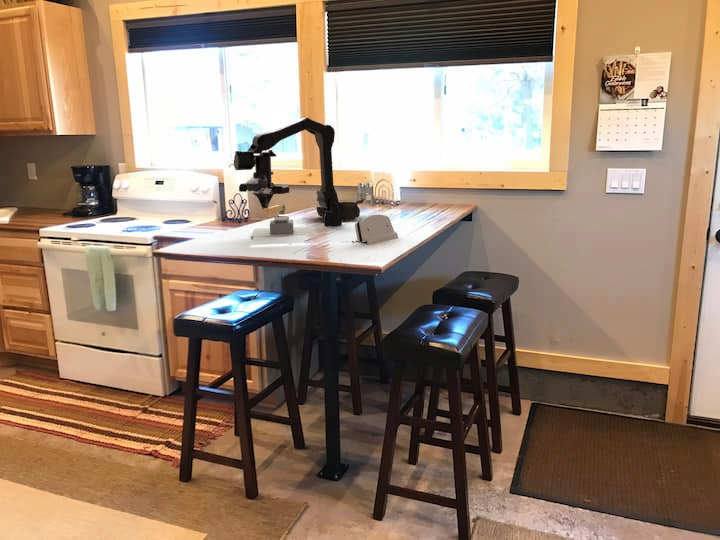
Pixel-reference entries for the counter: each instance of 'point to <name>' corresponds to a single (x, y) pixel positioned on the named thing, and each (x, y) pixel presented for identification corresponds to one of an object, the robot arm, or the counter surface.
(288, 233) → the block
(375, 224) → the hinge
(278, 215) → the pin
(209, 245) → the counter surface
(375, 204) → the counter surface
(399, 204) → the counter surface
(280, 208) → the bar
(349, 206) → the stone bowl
